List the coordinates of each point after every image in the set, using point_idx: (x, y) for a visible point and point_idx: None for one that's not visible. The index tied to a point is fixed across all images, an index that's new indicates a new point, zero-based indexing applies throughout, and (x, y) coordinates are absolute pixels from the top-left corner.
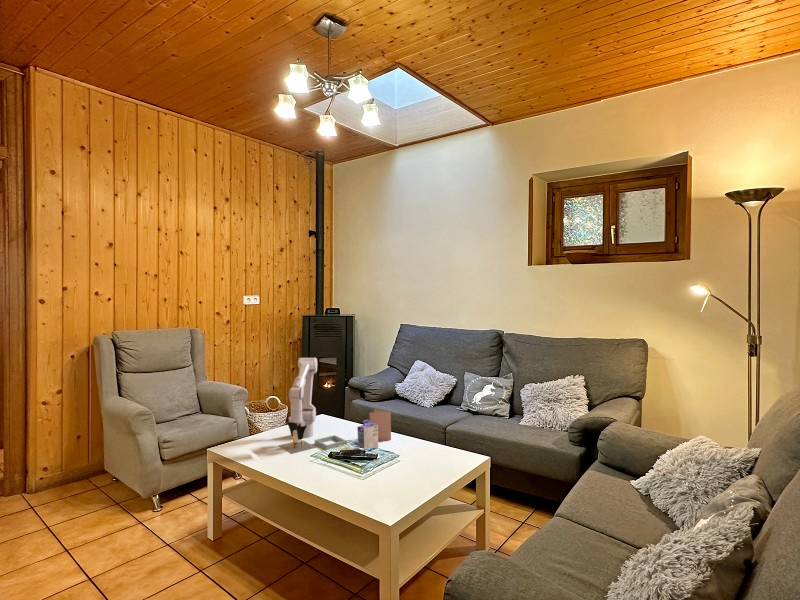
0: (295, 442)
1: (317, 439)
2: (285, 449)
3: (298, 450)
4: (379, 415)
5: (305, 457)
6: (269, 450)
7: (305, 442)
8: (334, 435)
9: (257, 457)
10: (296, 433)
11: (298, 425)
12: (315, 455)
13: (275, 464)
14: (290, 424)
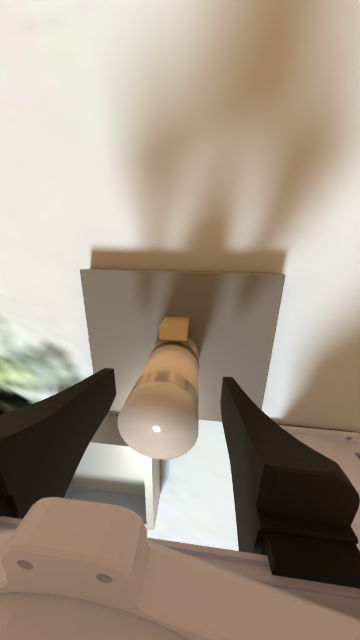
0: (154, 351)
1: (147, 459)
2: (174, 279)
3: (110, 327)
4: None
5: (47, 319)
6: (287, 213)
7: (206, 413)
8: (150, 526)
9: (219, 65)
10: (127, 398)
11: (4, 495)
12: (49, 363)
13: (22, 130)
14: (254, 473)
